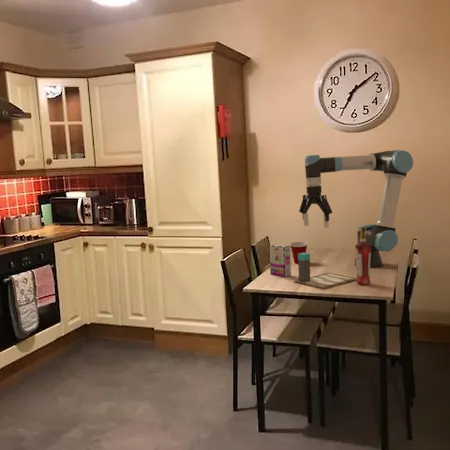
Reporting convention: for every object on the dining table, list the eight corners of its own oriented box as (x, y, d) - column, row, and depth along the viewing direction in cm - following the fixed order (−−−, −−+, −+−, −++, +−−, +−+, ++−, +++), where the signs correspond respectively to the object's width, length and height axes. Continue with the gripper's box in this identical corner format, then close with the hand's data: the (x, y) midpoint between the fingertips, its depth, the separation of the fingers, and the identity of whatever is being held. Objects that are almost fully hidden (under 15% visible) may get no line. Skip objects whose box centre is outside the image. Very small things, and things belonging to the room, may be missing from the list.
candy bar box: (291, 275, 274) (290, 245, 272) (285, 277, 271) (284, 246, 269) (276, 272, 282) (275, 243, 280) (270, 274, 279) (268, 244, 277)
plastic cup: (288, 265, 301) (288, 244, 299) (291, 261, 311) (290, 241, 309) (307, 265, 298) (306, 244, 296) (309, 261, 308) (309, 241, 306)
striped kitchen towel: (328, 273, 274) (328, 272, 274) (358, 279, 258) (358, 278, 258) (293, 282, 259) (293, 281, 259) (323, 289, 243) (323, 288, 243)
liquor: (353, 282, 253) (352, 226, 249) (368, 281, 253) (367, 225, 250) (358, 286, 246) (357, 228, 242) (373, 285, 246) (372, 227, 242)
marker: (304, 279, 261) (303, 252, 259) (310, 280, 258) (309, 253, 256) (298, 281, 258) (297, 253, 257) (304, 282, 255) (303, 254, 253)
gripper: (290, 186, 269) (293, 226, 272) (327, 186, 249) (330, 229, 252) (300, 184, 274) (303, 224, 277) (337, 184, 254) (340, 227, 257)
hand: (316, 226), depth 264 cm, fingers open, 13 cm apart
